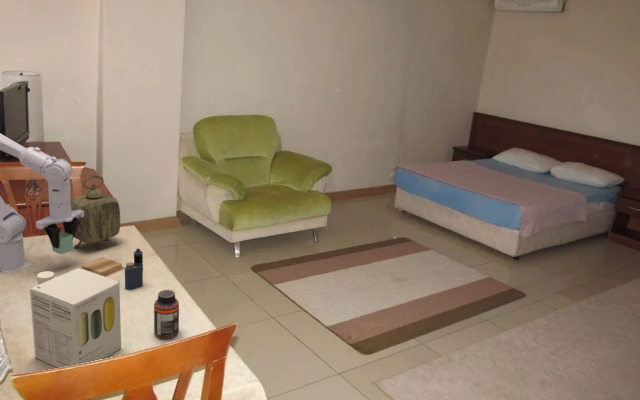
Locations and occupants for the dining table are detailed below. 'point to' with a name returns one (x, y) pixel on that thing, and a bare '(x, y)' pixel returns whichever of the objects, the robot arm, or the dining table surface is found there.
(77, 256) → the dining table surface
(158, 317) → the supplement bottle
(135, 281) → the vaping device
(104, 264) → the top slab
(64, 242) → the block
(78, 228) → the tabletop clock
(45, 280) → the pill bottle
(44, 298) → the supplement box
